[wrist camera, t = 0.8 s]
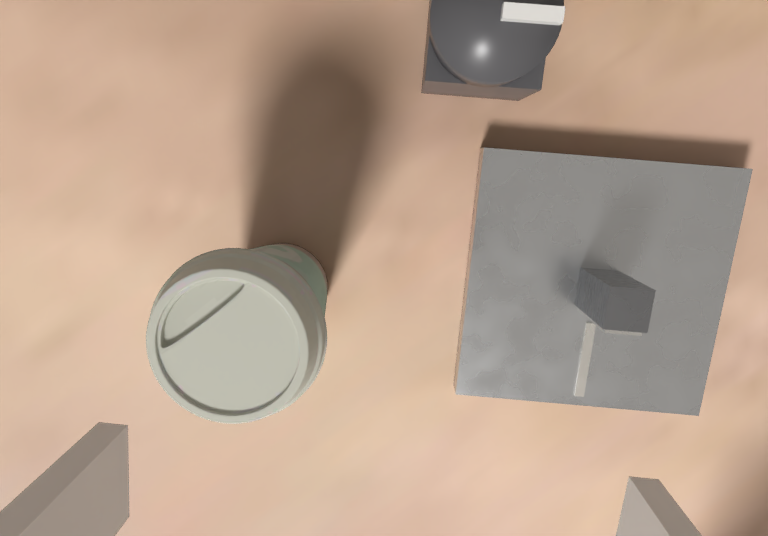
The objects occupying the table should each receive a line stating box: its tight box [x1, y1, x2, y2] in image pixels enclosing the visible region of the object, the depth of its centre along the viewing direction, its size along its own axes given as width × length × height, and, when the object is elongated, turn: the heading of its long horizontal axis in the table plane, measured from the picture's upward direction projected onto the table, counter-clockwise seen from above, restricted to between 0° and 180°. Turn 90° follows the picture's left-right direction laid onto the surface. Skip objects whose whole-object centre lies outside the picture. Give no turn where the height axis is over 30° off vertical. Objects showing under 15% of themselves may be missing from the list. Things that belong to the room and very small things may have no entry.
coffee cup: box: [146, 243, 327, 424], centre depth 30 cm, size 8×8×12 cm
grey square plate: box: [454, 148, 752, 416], centre depth 32 cm, size 16×16×6 cm
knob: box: [421, 0, 565, 101], centre depth 28 cm, size 6×6×8 cm
